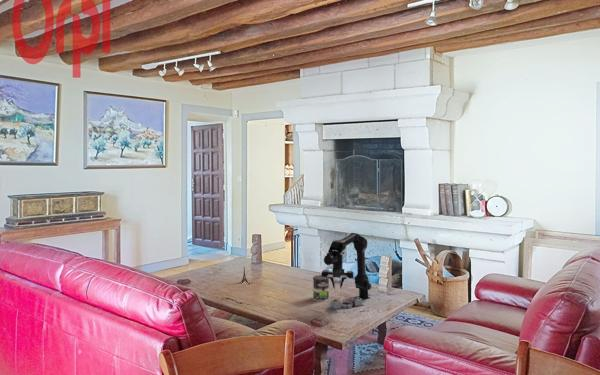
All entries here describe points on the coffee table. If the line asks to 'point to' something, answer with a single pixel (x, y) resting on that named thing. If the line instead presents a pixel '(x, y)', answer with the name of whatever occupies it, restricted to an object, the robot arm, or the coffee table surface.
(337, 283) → the cartridge
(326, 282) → the coffee can
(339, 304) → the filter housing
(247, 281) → the eiffel tower figurine
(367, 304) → the coffee table surface
